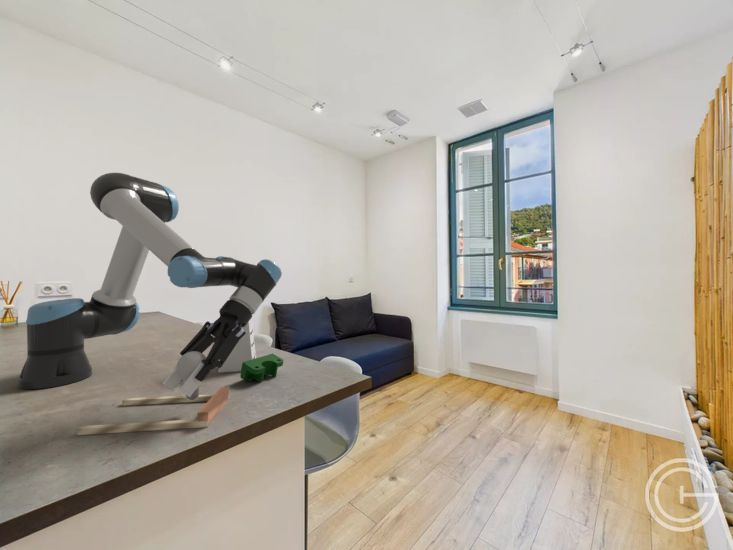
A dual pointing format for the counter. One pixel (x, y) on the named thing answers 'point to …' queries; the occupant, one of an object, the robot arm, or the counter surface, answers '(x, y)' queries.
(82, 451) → the counter surface
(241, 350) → the grater
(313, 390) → the counter surface
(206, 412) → the guide
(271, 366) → the clamp
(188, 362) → the lightbulb
